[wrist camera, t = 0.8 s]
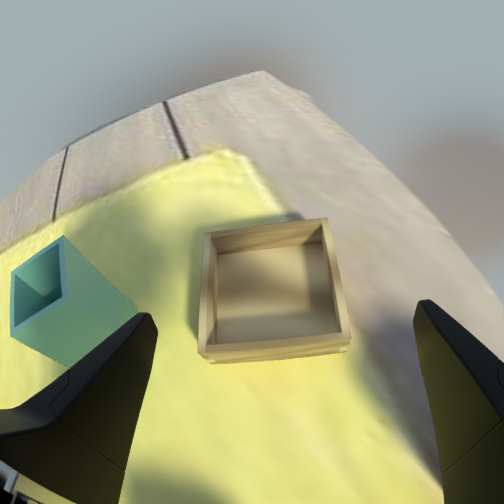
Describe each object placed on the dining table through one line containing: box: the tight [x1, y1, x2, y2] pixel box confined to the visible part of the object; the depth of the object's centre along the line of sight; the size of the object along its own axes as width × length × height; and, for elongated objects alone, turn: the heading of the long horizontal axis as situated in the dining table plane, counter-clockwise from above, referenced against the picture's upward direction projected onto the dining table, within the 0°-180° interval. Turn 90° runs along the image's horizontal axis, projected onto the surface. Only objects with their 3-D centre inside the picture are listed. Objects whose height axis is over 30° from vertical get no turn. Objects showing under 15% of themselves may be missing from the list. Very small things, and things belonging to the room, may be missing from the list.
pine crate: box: [198, 217, 351, 364], centre depth 26 cm, size 11×11×4 cm
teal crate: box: [10, 235, 137, 368], centre depth 22 cm, size 6×6×12 cm
